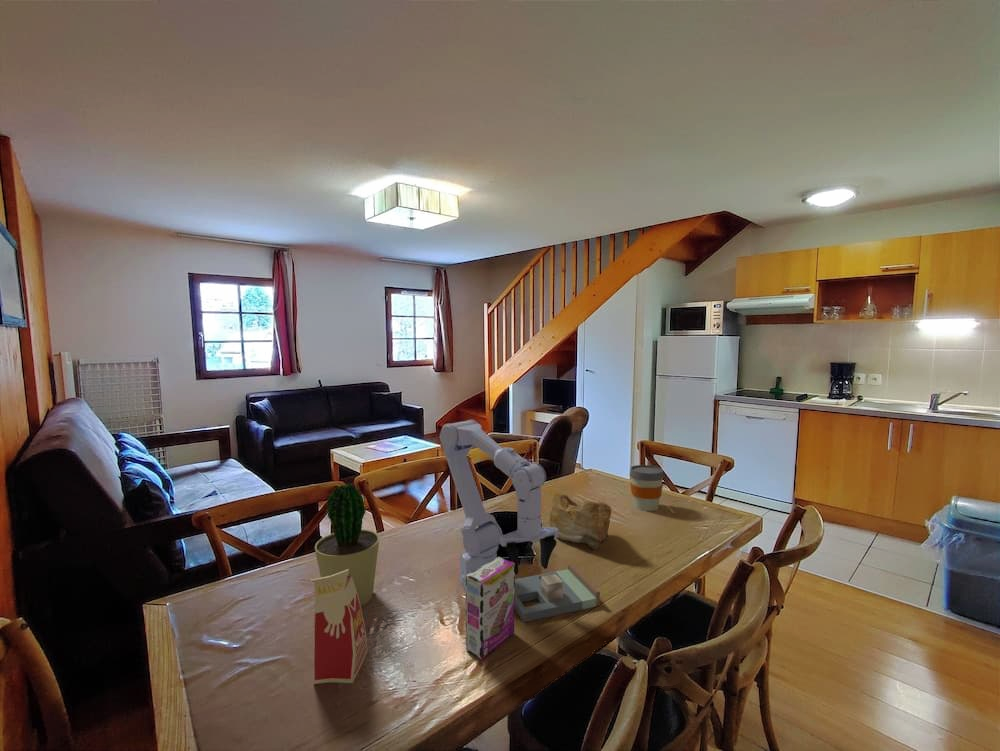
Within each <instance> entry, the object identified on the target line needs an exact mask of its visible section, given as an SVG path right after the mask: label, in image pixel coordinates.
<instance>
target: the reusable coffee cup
mask: <svg viewBox="0 0 1000 751" xmlns="http://www.w3.org/2000/svg"><path fill="white" fill-rule="evenodd" d="M629 477H630V482H629V484H630V491H631V492H630V493H631V495H632V499H633V500H632V501H633V506H634V508H635V509H637V510H639V511H644V512H653V511H654V512H655V511H657V510H658V509H659V504H660V498H661V496H662V492H663V479H664V471H663V468H661V467H659V466H655V465H654V466H653V465H648V464H639V465H637V464H636V465H633V466H630V469H629Z"/></svg>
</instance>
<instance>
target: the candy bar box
mask: <svg viewBox="0 0 1000 751" xmlns="http://www.w3.org/2000/svg"><path fill="white" fill-rule="evenodd" d="M515 579H516V578H515V563H514V562H511V561H510V559H505V558H502V557H501V556H497V558H496V559H494V560H492V561H491V562H489V563H487V564H485V565H483V566H482V567H480V568H478V569H476V570H475V571H473V572H471V573H469V574H467V575H466V591H465V650H466V651H467V652H468V653H470V654H472V655H473V656H475V657H476V658H478V659H480V660H483V659H484V658H486V657H487V656H488V655H489V654H490V653H492V652H493V651H494V650H496V648H498V647H499V646H500V645H501V644H502V643H504V642H505V641H506V640H508V639H509V638H510V637H511V636H513V635H514V634H515V608H514V593H515Z"/></svg>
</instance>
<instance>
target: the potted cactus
mask: <svg viewBox="0 0 1000 751" xmlns="http://www.w3.org/2000/svg"><path fill="white" fill-rule="evenodd" d="M358 487H359V486H358V485H357V486H356V487H355V484H353V482H350V483H347V482H346V484H343V485H339V486H337V488H335V489H334V490H333V489H331V492H332V493H331V494H330V496H329V497H328V496H325V498H326V499H327V505H325V507H327V508H326V509H325V511H326V513H325V514H327V515H326V517H324V520H328V524H331V525H332V531H333V532H331V533H329V534H327V535H325V536H323V537H322V538H320V539H319V540H317V542H316V543H315V545H314V551H315V556H316V560H317V565H318V570H319V575H320V578H322V577H327V576H331V575H334V574H336V573H339V572H342V571H344V570H347V569H349V572H348V576H352V578H353V581H354V584H355V588H356V591H357V595H358V598H359V601H360V606H361V607H363V606H365V605H366V604H368V603H369V602H370V601H371V600H372V597H373V594H374V586H375V580H376V579H375V578H376V569H377V568H376V567H377V559H378V553H379V543H380V542H379V541H380V536H379V534H378V533H377V532H375V531H373V530H369V529H364V526H363V520H365V521H366V520H367V519H366V518H365V517H364V516H365V515H366V507H367V506H366V505H367V504H365V503H367V501H364V499H365V496H364V495H362V492H363V491H362V490H361V491H359V488H358ZM362 526H363V527H362Z"/></svg>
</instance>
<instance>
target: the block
mask: <svg viewBox="0 0 1000 751" xmlns="http://www.w3.org/2000/svg"><path fill="white" fill-rule="evenodd" d="M541 593H542V594H543V595H544V596H545V598H546V599H547V600H548V601H549V600H554V599H559V598H563V582H562V580H561V579H560V578H559V577H558V576H557V575H556V574H553V575H547V576H542V577H541Z"/></svg>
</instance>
